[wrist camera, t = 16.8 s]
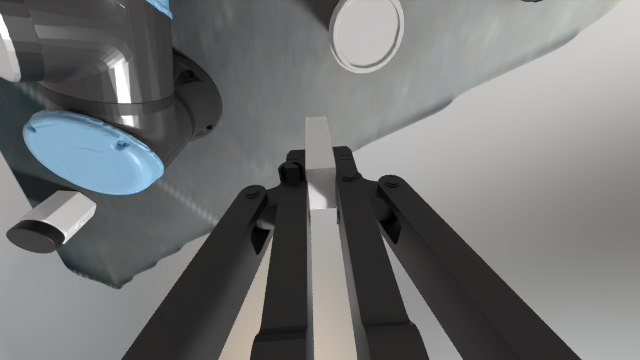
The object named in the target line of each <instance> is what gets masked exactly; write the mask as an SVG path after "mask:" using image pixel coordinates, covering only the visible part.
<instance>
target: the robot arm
mask: <svg viewBox="0 0 640 360" xmlns="http://www.w3.org/2000/svg"><path fill="white" fill-rule="evenodd" d="M170 19H172V13H171V12H170V11H169V1H168V0H0V77H2V78H4V79H6V80H8V81H12V82H26V81H37V83H38V86H39V88H40V91H41V93H42V96H43V99H44V101H45V104H46V107H47V110H43V111H40V112H37V113H35V114H33V115H32V117H31V119H30V121H29V122H28V123H26V124H25V126H24V128H23V137H24V141H25V143H26V145H27V147H28V148H29V150H30V151H31V153H32V154H33V155H34V156H35V157H36V158H37V159H38V160H39V161H40V162H41V163H42V164H43V165H44V166H46V167H47V168H48V169H50V170H51V171H52V172H54V173H55V174H57V175H59V176H60V177H63V178H65V179H67V180H68V181H70V182H72V183H74V184H76V185H78V186H81V187H83V188H86V189H89V190H93V191H96V192H101V193H106V194H114V195H126V194H133V193H137V192H139V191H142V190H143V189H146V188H147V187H148V186H149V185H151V184H152V183H153V182H154V181H155V180H156V179H158V178H159V177H161V175H162V174H163V172H164V170H165V169H166V168H167V167H168V165H169V164H170V163H171V162H172V161H173V160H174V158H175V157H176V156H177V155H178V154H179V153H180V151H181V150H182V149H183V148H184V147H185V146H186V144H187V143H188V142H190V141H193V140H196V139H199V138H202V137H204V136H206V135H207V134H209V133H210V132H211V131H212V130H213V129H214V127H215V126H216V125H217V123H218V122H219V120H220V117H221V114H222V101H221V97H220V94H219V91H218V89H217V87H216V85H215V84H214V82H213V81H212V79H211V78H210V77H209V75H208V74H207V73H206V72H205V71H204V70H203V69H202V68H200V67H199V66H198V65H197V64H195V63H194V62H192V61H190V60H188V59H186V58H184V57H182V56H179V55H175V54H172V38H171V20H170ZM278 171H279V176H280V181H281V184H280V185H278V186H277V187H274V188H272V189H268V190H266V189H265V188H264V187H263V186H260V185H252V186H248V187H246V188H244V189H243V190H242V191H241V192H240V193H239V194H238V196H237V197H236V199H235V200H234V201H233V203H232V204H231V206H230V207H229V208H228V210H227V211H226V213H225V214H224V215H223V217H222V218H221V220H220V221H219V223H218V224H217V225H216V227H215V228H214V230H213V231H212V232H211V234H210V235H209V237H208V238H207V239H206V241H205V242H204V244H203V245H202V247H201V248H200V249H199V251H198V252H197V254H196V255H195V257H194V258H193V259H192V261H191V262H190V263H189V265H188V266H187V268H186V269H185V271H184V272H183V273H182V275H181V276H180V278H179V279H178V281H177V282H176V283H175V285H174V286H173V287H172V289H171V290H170V292H169V293H168V295H167V296H166V297H165V299H164V300H163V302H162V303H161V304H160V306H159V307H158V309H157V310H156V311H155V313H154V314H153V316H152V317H151V318H150V320H149V322H148V323H147V324H146V326H145V327H144V328H143V330H142V331H141V333H140V334H139V335H138V337H137V338H136V340H135V341H134V342H133V344H132V345H131V347H130V348H129V349H128V351H127V352H126V354H125V355H124V357H123V358H122V359H121V360H218V359H219V356H220V354H221V351H222V349H223V347H224V345H225V342H226V340H227V338H228V336H229V333H230V331H231V329H232V326H233V324H234V322H235V320H236V318H237V315H238V313H239V311H240V309H241V306H242V304H243V302H244V299H245V297H246V295H247V293H248V290H249V288H250V286H251V283H252V281H253V279H254V276H255V274H256V272H257V270H258V268H259V265H260V263H261V261H262V258H263V256H264V254H265V251H266V249H267V247H268V245H269V242H270V240H271V238H272V236H273V241H272V249H271V257H270V263H269V270H268V277H267V285H266V292H265V299H264V307H263V313H262V321H261V327H260V331H259V333H258V334H257V335H256V336H255V339H254V341H253V345H252V351H251V356H250V360H314V340H313V300H312V299H313V298H312V258H311V220H310V219H311V217H310V209H324V208H336V205H337V224H338V225H339V233H340V239H341V246H342V253H343V260H344V267H345V274H346V281H347V288H348V295H349V302H350V309H351V316H352V323H353V330H354V337H355V344H356V351H357V360H429V357H428V354H427V351H426V349H425V346H424V343H423V340H422V337H421V335H420V332H419V330H418V329H417V327H416V325H415V324H414V323H413V322H411V321H410V320H409V318H408V315H407V313H406V310H405V307H404V304H403V301H402V297H401V294H400V291H399V288H398V285H397V282H396V279H395V276H394V273H393V270H392V266H391V264H390V260H389V257H388V254H387V251H386V248H385V245H384V242H383V239H382V236H381V234H382V235H383V237H384V238H385V240H386V241H387V243H388V244H389V246H390V247H391V249H392V251H393V252H394V254H395V255H396V257H397V258H398V260H399V261H400V263H401V264H402V266H403V268H404V269H405V270H406V272H407V274H408V275H409V277H410V278H411V280H412V281H413V283H414V284H415V286H416V288H417V289H418V291H419V292H420V294H421V295H422V297H423V298H424V300H425V301H426V303H427V304H428V306H429V308H430V309H431V311H432V312H433V314H434V315H435V317H436V318H437V320H438V321H439V323H440V324H441V326H442V328H443V329H444V331H445V332H446V334H447V335H448V337H449V338H450V340H451V341H452V343H453V345H454V346H455V348H456V349H457V351H458V352H459V354H460V355H461V357H462V358H463V360H581V359H580V358H579V357H578V356H577V355H576V354H575V353H574V352H573V351H572V350H571V349H570V348H569V347H568V346H567V345H566V343H565V342H564V341H563V340H561V338H560V337H559V336H557V335H556V333H555V332H553V330H552V329H551V328H550V327H549V326H548V325H547V324H546V323H545V322H544V321H543V320H541V318H540V317H539V316H538V315H537V314H536V313H535V312H534V311H533V310H532V309H531V308H530V307H529V306H528V305H527V304H526V303H525V302H524V301H523V300H522V299H521V298H520V297H519V296H518V295H517V294H516V293H515V292H514V291H513V290H512V289H511V288H510V287H509V286H508V285H507V284H506V283H505V282H504V281H503V280H502V279H501V278H500V277H499V276H498V275H497V274H496V273H495V272H494V271H493V270H492V269H491V268H490V267H489V266H488V265H487V263H485V261H484V260H483V259H482V258H481V257H480V256H479V255H478V254H477V253H476V252H475V251H473V249H472V248H471V247H470V246H469V245H468V244H467V243H466V242H465V241H464V240H463V239H462V238H461V237H460V236H459V235H458V234H457V233H456V232H455V231H454V230H453V229H452V228H451V227H450V226H449V225H448V224H447V223H446V222H445V221H444V220H443V219H442V218H441V217H440V216H439V215H438V214H437V213H436V212H435V211H434V210H433V209H432V208H431V207H430V206H429V205H428V204H427V203H426V202H425V201H424V200H423V199H422V198H421V197H420V196H419V195H418V194H417V193H416V192H415V191H414V190H413V188H411V187H410V185H409V184H408V183H407V182H405V180H403V179H402V178H400V177H398V176H395V175H385V176H382V177H381V178H380V179H379V181H378V182H377V181H370V180H367V179H364V178H363V177H362V175H361V174H360V173H359V172H358V171H357V168H356V165H355V161H354V158H353V155H352V152H351V149H349V148H348V147H347V146H340V147H332V143H331V138H330V132H329V127H328V121H327V116H318V117H306V132H305V150H291V151H290V152H289V153H288V154H287V158H286V162H285V163H283V164H281V165H280V166H279V168H278ZM273 233H274V234H273Z"/></svg>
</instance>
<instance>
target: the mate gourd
mask: <svg viewBox="0 0 640 360" xmlns="http://www.w3.org/2000/svg"><path fill="white" fill-rule="evenodd" d="M522 1H525V2H539V1H542V0H522Z"/></svg>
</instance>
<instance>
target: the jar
mask: <svg viewBox="0 0 640 360" xmlns="http://www.w3.org/2000/svg"><path fill="white" fill-rule="evenodd" d="M95 208H96V203H95V202H93V201H92V200H90V199H89V198H87V197H86V196H85V195H83V194H82V193H80V192H77V191H60V190H59V191H57V192H55V193H54V194H53V195H51V196H50V197H49V198H47V199H46V200H45V201H43V202H42V203H41V204H39V205H38V206H36V207H35V208H34V209H32V210H31V211H30V212H28V213H27V214H26V215H24V216H23V217H22V218H20V222H19V223H18V224H16V225H15V226H14V227H12V228H11V229H10V230H8V231H7V233H6V236H7V238H8V239H9V240H10V241H11V242H12V243H13V244H15V245H16V246H18V247H20V248H22V249H25V250H28V251H31V252H35V253H51V252H53V251H55V250H56V249H57V248H59V247H60V246H61V245H62V244H64V243H65V242H66V241H68V240H69V239H70V238H71V237H72V236H73V235H74V234H75V233H76V232H77V231H78V230H79V229H80V228H81V227H82V226H83V225H84V224H85V223H86V222H87V221H88V220H89V219H90V218H91V217H92V216H93V215H94V212H95Z"/></svg>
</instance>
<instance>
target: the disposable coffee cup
mask: <svg viewBox="0 0 640 360" xmlns="http://www.w3.org/2000/svg"><path fill="white" fill-rule="evenodd" d="M403 31H404V16H403V11H402V7H401V5H400V2H399V1H398V0H340V1H339V3H338V4H337V5H336V7H335V9H334V11H333V14H332V16H331V20H330V24H329V43H330V48H331V51H332V53H333V55H334V57H335V59H336V60H337V61H338V63H339V64H340V65H341V66H343V67H344V68H345V69H347V70H349V71H351V72H355V73H369V72H372V71H375V70H377V69H379V68H381V67H382V66H384V65H385V64H386V63H387V62H388V61H389V60H390V59H391V58H392V57H393V55H394V54H395V52H396V51H397V49H398V47H399V45H400V42H401V40H402V36H403Z"/></svg>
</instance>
